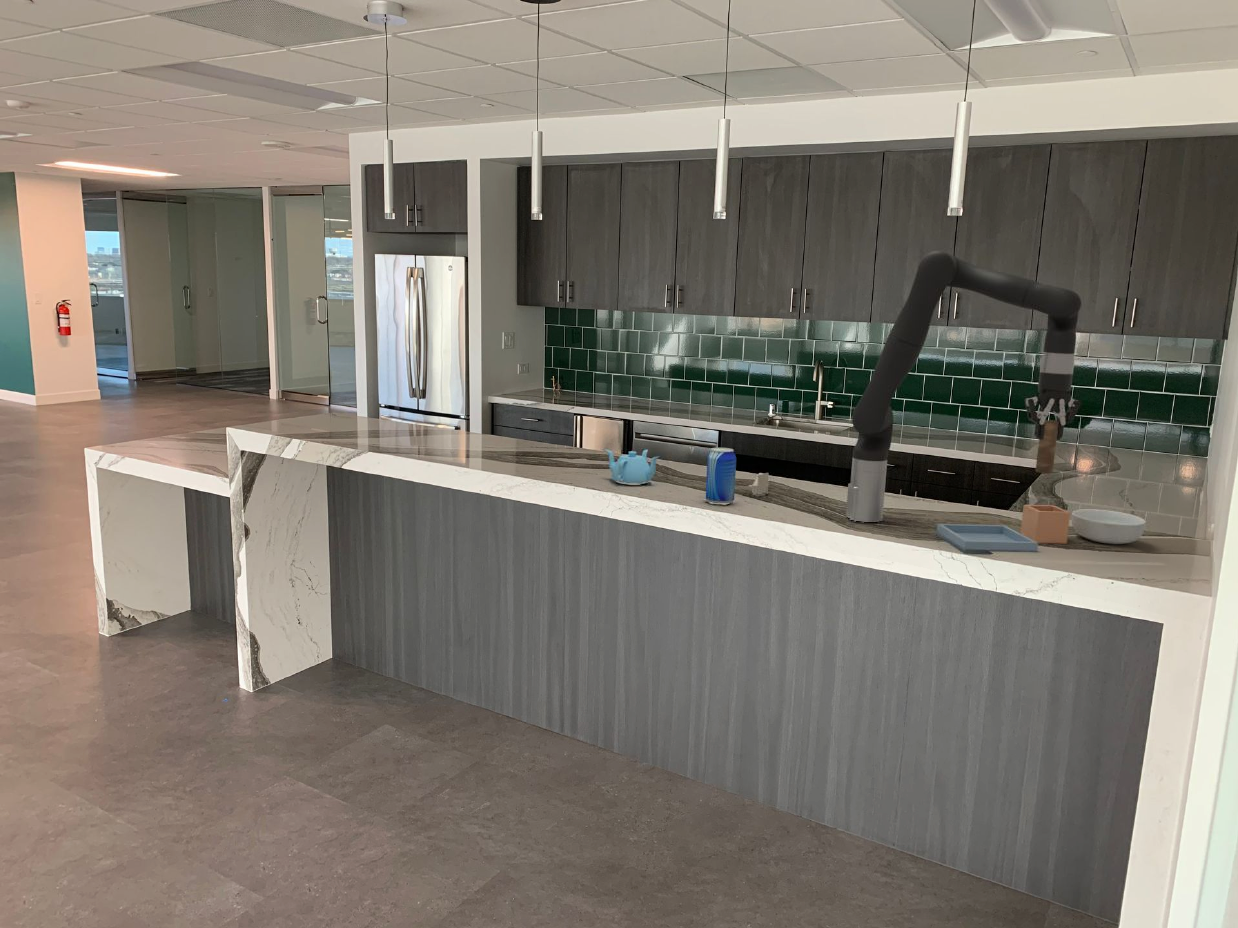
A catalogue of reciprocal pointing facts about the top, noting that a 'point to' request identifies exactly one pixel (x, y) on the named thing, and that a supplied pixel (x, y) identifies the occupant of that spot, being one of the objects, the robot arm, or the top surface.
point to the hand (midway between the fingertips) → (1048, 439)
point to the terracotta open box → (1045, 523)
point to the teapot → (632, 467)
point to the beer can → (721, 475)
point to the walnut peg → (1047, 447)
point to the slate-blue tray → (985, 538)
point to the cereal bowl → (1107, 526)
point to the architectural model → (760, 484)
